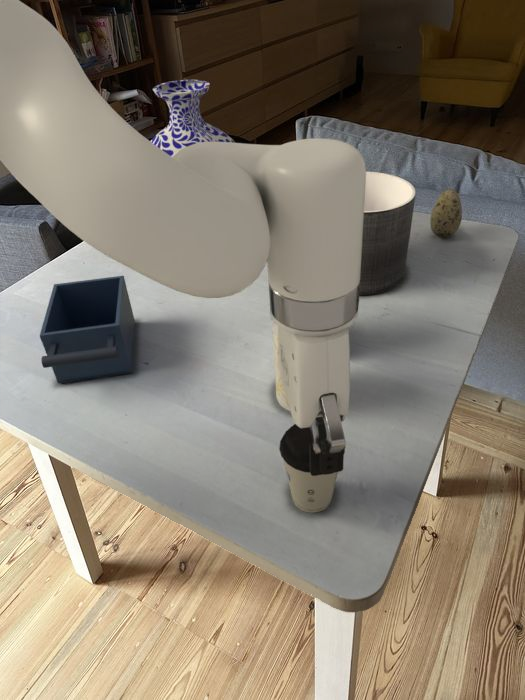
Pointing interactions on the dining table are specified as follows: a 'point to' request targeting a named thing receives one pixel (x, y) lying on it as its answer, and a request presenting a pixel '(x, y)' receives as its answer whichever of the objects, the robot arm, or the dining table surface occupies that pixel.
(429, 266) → the dining table surface
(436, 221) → the decorative egg
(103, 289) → the blue drawer with handle
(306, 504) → the coffee cup
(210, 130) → the vase
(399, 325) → the dining table surface
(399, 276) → the planter
